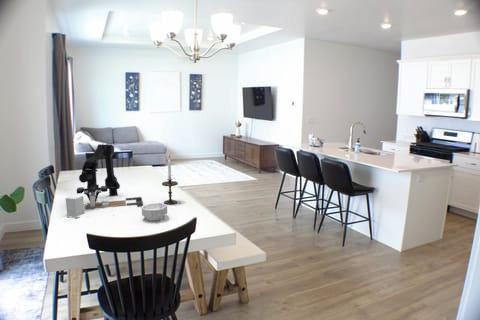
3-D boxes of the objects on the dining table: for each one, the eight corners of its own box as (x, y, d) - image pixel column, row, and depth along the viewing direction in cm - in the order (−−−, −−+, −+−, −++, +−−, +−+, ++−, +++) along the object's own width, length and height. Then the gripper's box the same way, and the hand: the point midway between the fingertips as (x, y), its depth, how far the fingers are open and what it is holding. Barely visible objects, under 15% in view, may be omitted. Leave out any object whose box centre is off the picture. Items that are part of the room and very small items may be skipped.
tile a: (102, 203, 248) (102, 201, 248) (108, 202, 249) (108, 200, 249) (102, 204, 244) (102, 202, 244) (108, 204, 246) (108, 202, 245)
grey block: (91, 203, 247) (90, 190, 245) (96, 203, 248) (95, 190, 246) (90, 207, 237) (89, 194, 236) (95, 207, 238) (94, 194, 237)
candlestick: (176, 200, 262) (175, 152, 256) (179, 204, 252) (178, 154, 247) (161, 201, 258) (159, 153, 253) (164, 205, 248) (162, 155, 243)
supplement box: (85, 215, 227) (83, 195, 225) (76, 219, 220) (74, 198, 218) (75, 214, 230) (74, 194, 227) (66, 217, 223) (65, 197, 221)
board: (87, 205, 248) (87, 203, 248) (125, 202, 256) (125, 200, 256) (85, 211, 235) (85, 209, 235) (126, 207, 243) (126, 205, 243)
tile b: (102, 205, 244) (102, 202, 244) (108, 204, 245) (108, 202, 245) (102, 206, 240) (102, 204, 240) (108, 206, 241) (108, 203, 241)
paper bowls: (137, 218, 222) (136, 205, 221) (158, 213, 233) (158, 201, 231) (150, 224, 211) (150, 211, 210) (172, 218, 222) (172, 206, 221)
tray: (126, 202, 256) (125, 198, 256) (141, 201, 260) (141, 196, 259) (126, 207, 243) (126, 203, 243) (143, 206, 246) (142, 202, 246)
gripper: (75, 182, 229) (76, 206, 232) (106, 180, 235) (107, 204, 238) (76, 179, 239) (78, 202, 242) (106, 177, 245) (108, 199, 248)
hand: (93, 202), depth 242 cm, fingers closed on grey block, 3 cm apart
